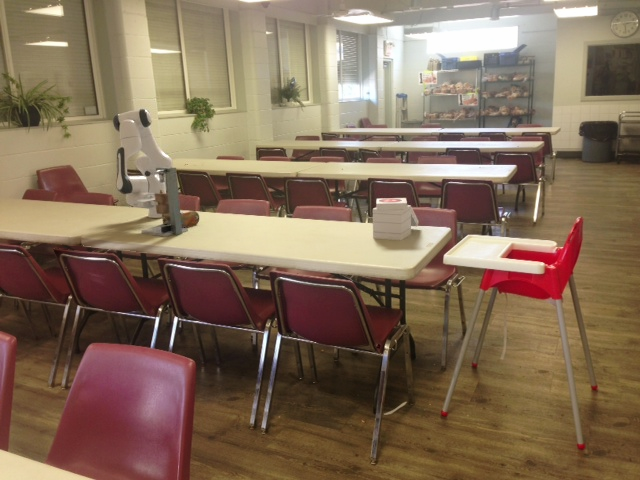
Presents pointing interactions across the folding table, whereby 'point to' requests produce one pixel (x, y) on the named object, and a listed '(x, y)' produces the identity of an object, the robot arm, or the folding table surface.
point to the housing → (162, 203)
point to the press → (173, 203)
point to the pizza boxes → (393, 219)
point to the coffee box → (166, 218)
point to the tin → (189, 218)
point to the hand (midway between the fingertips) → (163, 202)
